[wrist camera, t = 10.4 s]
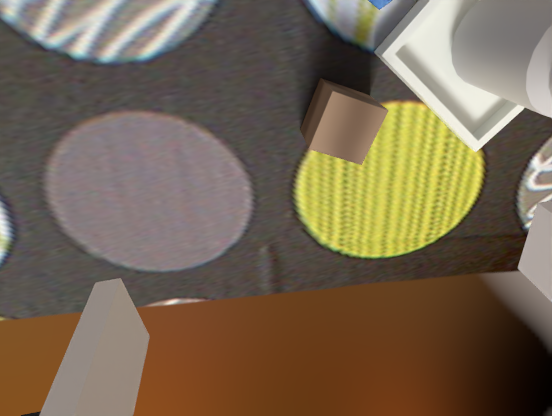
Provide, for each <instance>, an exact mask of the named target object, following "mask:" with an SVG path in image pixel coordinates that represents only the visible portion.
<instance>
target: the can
mask: <svg viewBox="0 0 552 416" xmlns="http://www.w3.org/2000/svg"><path fill="white" fill-rule="evenodd" d="M451 54H452V64H453V66H454V69H455V71H456V73H457V75H458V76H459V77H460V78H461V79H462V80H463V81H464V82H466V83H468V84H471V85H473V86H475V87H478V88H480V89H483V90H485V91H487V92H490V93H492V94H494V95H497V96H499V97H502V98H504V99H506V100H509V101H511V102H514V103H516V104H518V105H521V106H523V107H525V108H528V109H530V110H533V111H535V112H537V113H540V114H543V115H545V116H548V117H551V118H552V0H480V1H479V2H477V3H476V4H475V5H473V7H472V8H471V9H470V10H469V11H468V13H467V14H466V15H465V16H464V17H463V19H462V20H461V22H460V24H459V26H458V28H457V30H456V32H455V35H454V39H453V44H452V48H451Z"/></svg>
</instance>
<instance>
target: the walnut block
mask: <svg viewBox="0 0 552 416" xmlns="http://www.w3.org/2000/svg"><path fill="white" fill-rule="evenodd" d="M387 112H388V110H387V109H386V108H385V107H383V106H382V105H381V104H380V103H378V102H377V101H376V100H375V99H373V98H372V97H371V96H370V95H367V94H364V93H362V92H359V91H356V90H353V89H350V88H348V87H345V86H342V85H339V84H336V83H334V82H331V81H328V80H325V79H322V78H320V80H319V83H318V85H317V88H316V90H315V93H314V95H313V98H312V101H311V103H310V106H309V108H308V111H307V113H306V116H305V119H304V121H303V124H302V126H301V129H300V130H301V132H302V135H303V137H304V139H305V141H306V144H307V146H308V148H309V149H311V150H314V151H317V152H321V153H324V154H327V155H331V156H334V157H337V158H341V159H344V160H347V161H350V162H354V163H357V164H360V165H362V163H363V161H364V159H365V157H366V155H367V153H368V151H369V149H370V147H371V145H372V143H373V141H374V139H375V137H376V135H377V133H378V131H379V129H380V127H381V124H382V122H383V120H384V118H385V116H386V114H387Z"/></svg>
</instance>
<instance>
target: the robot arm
mask: <svg viewBox="0 0 552 416" xmlns="http://www.w3.org/2000/svg"><path fill="white" fill-rule="evenodd" d="M518 269H519V270H520V271H521V272H522V273H523V274H524V275H525V276H526V277H527V278H528V279H529V280H530V281H531V282H532V283H533V284H534V285H535V286H536V287H537V288H538V289H539V290H540V291H541V292H542V293H543V294H544V295H545V296H546V297H547V298H548V299H549V300H550V301H551V302H552V201H547V202H541V203H538V204H537V207H536V210H535V214H534V217H533V220H532V223H531V227H530V230H529V233H528V236H527V240H526V243H525V246H524V249H523V253H522V256H521V259H520V262H519V266H518ZM148 341H149V334H148V332H147V330H146V329H145V326H144V324H143V322H142V320H141V318H140V316H139V314H138V312H137V310H136V308H135V306H134V304H133V302H132V300H131V298H130V296H129V294H128V292H127V290H126V288H125V286H124V284H123V282H122V280H121V278H119V279H113V280H108V281H102V282H97V283H95V285H94V287H93V290H92V292H91V294H90V297H89V299H88V301H87V304H86V306H85V309H84V311H83V313H82V316H81V318H80V321H79V323H78V325H77V328H76V330H75V332H74V335H73V337H72V340H71V342H70V344H69V347H68V349H67V351H66V354H65V356H64V358H63V361H62V363H61V366H60V368H59V370H58V373H57V375H56V377H55V380H54V382H53V384H52V387H51V389H50V392H49V394H48V396H47V399H46V401H45V404H44V406H43V408H42V410H41V412H36V413H30V414H25V415H21V416H133V413H134V409H135V403H136V399H137V394H138V389H139V384H140V379H141V375H142V370H143V365H144V361H145V355H146V351H147V346H148Z"/></svg>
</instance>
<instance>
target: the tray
mask: <svg viewBox="0 0 552 416" xmlns="http://www.w3.org/2000/svg"><path fill="white" fill-rule="evenodd" d="M479 1H480V0H418V2H417V3H416V4H415V5H414V6H413V7H412V8H411V10H410V11H409V12H408V13H407V14H406V15H405V17H404V18H403V19H402V20H401V21H400V22H399V23H398V25H397V26H396V27H395V28H394V29H393V30H392V32H391V33H390V34H389V35H388V36H387V37H386V39H385V40H384V41H383V42H382V43H381V44H380V45H379V47H378V48H377V49H376V50H375V51H374V53H375V54H376V55H377V56H378V57H379V58H380V59H381V60H382V61H383V62H384V63H385V64H386V65H387V66H388V67H389V68H390V69H391V70H392V71H393V72H394V73H395V74H396V75H397V76H398V77H399V78H400V79H401V80H402V81H403V82H404V83H405V84H406V85H407V86H408V87H409V88H410V89H411V90H412V91H413V92H414V93H415V94H416V95H417V96H418V97H419V98H420V99H421V100H422V101H423V102H424V103H425V104H426V105H427V106H428V107H429V108H430V110H431V111H432V112H433V113H434V114H435V115H436V116H437V117H438V118H439V119H440V120H441V121H442V122H443V123H444V124H445V125H446V126H447V127H448V128H449V129H450V130H451V131H452V132H453V133H454V134H455V135H456V136H457V137H458V138H459V139H460V140H461V141H462V142H463V143H464V144H465V145H466V146H468V147H469V148H471V149H472V150H474V151H475V152H477V151H478V150H479V149H480V148H481V147H482V146H483V145H484V144H485V143H486V142H488V141H489V140H490V139H491V138H492V137H493V136H494V135H495V134H496V133H498V132H499V131H500V130H501V129H502V128H503V127H504V126H505V125H506V124H507V123H509V122H510V121H511V120H512V119H513V118H514V117H515V116H516V115H517V114H519V113H520V112H521V111H522V110H523V109H524V108H525V107H523V106H521V105H518V104H516V103H514V102H511V101H509V100H506V99H504V98H502V97H499V96H497V95H494V94H492V93H490V92H487V91H485V90H483V89H480V88H478V87H475V86H473V85H471V84H468V83H466V82H464V81H463V80H462V79H461V78H460V77H459V76H458V75H457V73H456V71H455V69H454V66H453V64H452V54H451V48H452V44H453V39H454V35H455V32H456V30H457V28H458V26H459V24H460V22H461V20H462V19H463V17H464V16H465V15H466V14H467V13H468V11H469V10H470V9H471V8H472V7H473V5H475V4H476V3H477V2H479Z"/></svg>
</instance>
